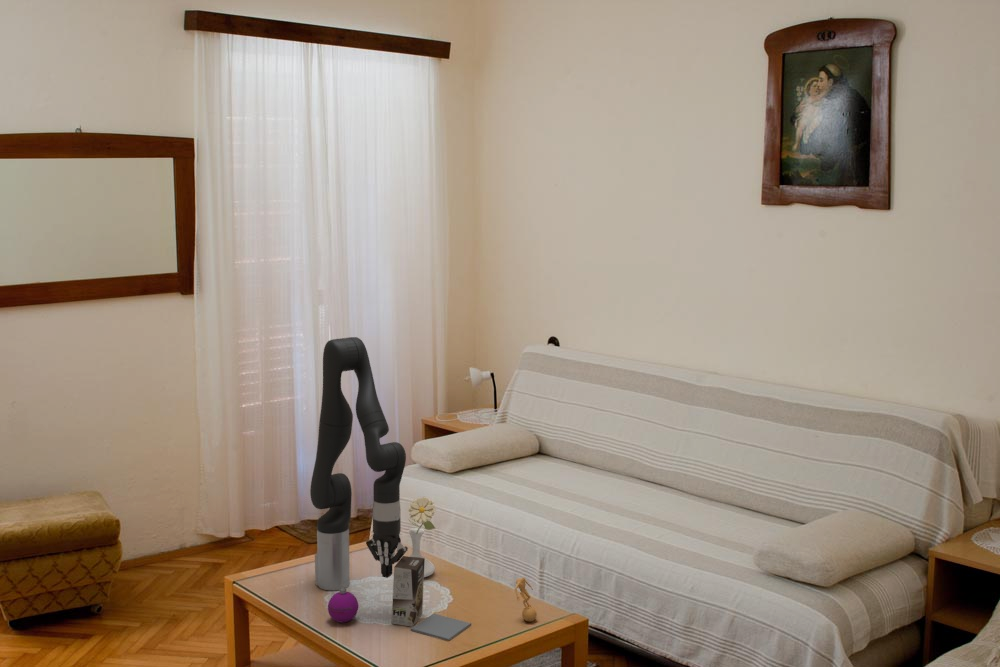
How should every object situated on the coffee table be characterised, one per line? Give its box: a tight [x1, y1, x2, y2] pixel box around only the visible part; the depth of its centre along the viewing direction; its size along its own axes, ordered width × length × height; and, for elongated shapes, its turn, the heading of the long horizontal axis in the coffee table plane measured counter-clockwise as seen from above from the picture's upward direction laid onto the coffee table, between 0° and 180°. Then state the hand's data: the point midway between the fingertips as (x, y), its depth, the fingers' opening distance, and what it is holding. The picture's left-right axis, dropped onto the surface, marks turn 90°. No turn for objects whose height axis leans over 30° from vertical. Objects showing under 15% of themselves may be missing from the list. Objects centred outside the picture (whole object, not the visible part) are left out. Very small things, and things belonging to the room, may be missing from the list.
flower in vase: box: [407, 496, 436, 578], centre depth 302 cm, size 13×11×25 cm
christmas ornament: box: [327, 586, 359, 623], centre depth 271 cm, size 8×8×10 cm
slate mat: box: [410, 613, 472, 642], centre depth 268 cm, size 12×11×1 cm
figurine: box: [514, 577, 538, 623], centre depth 272 cm, size 8×6×12 cm
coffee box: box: [391, 555, 426, 628], centre depth 272 cm, size 9×6×16 cm
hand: (386, 576), depth 275 cm, fingers closed
